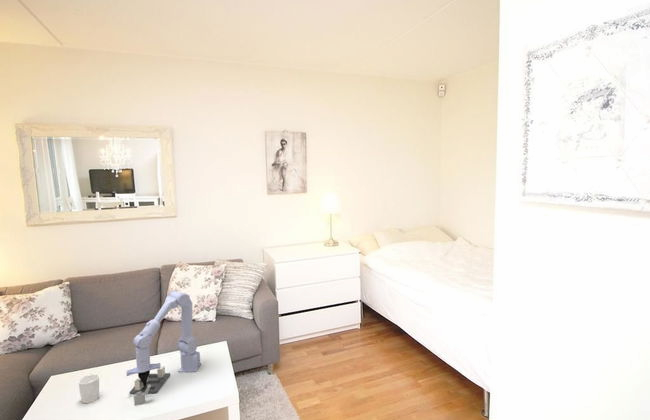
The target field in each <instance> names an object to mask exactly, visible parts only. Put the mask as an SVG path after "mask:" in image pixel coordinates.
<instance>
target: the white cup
mask: <svg viewBox="0 0 650 420" xmlns="http://www.w3.org/2000/svg"><path fill="white" fill-rule="evenodd" d="M78 388H79V393H80V399H81V402H82V403H83V404H89V403H90V404H91V403H93V402H95V401H96V400H97V399H99V397H100V375H99V374H96V373H93V374H89V375H86V376H84V377H82V378H80V379H79V380H78Z"/></svg>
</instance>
